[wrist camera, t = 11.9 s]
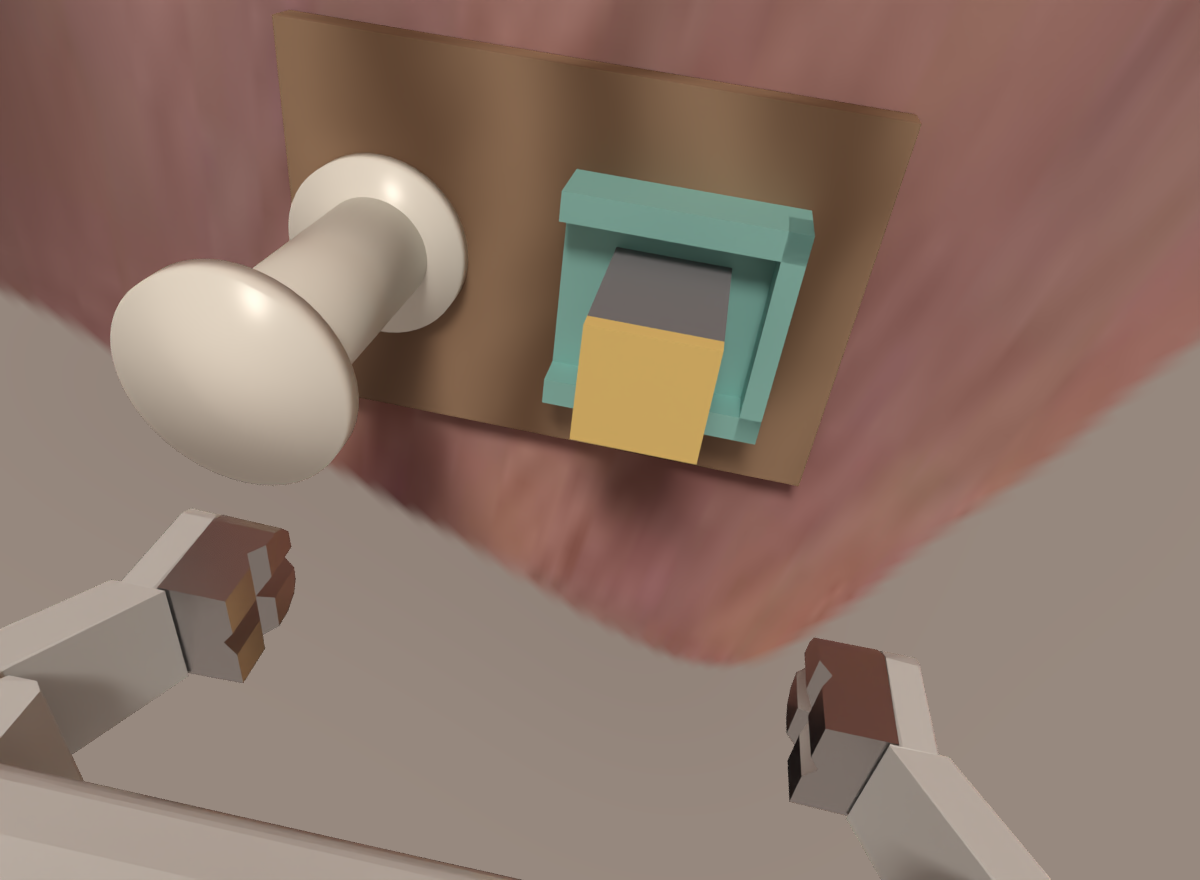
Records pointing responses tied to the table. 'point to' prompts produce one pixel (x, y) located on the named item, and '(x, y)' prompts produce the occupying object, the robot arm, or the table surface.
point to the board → (533, 196)
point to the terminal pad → (698, 233)
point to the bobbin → (289, 322)
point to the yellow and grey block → (651, 355)
